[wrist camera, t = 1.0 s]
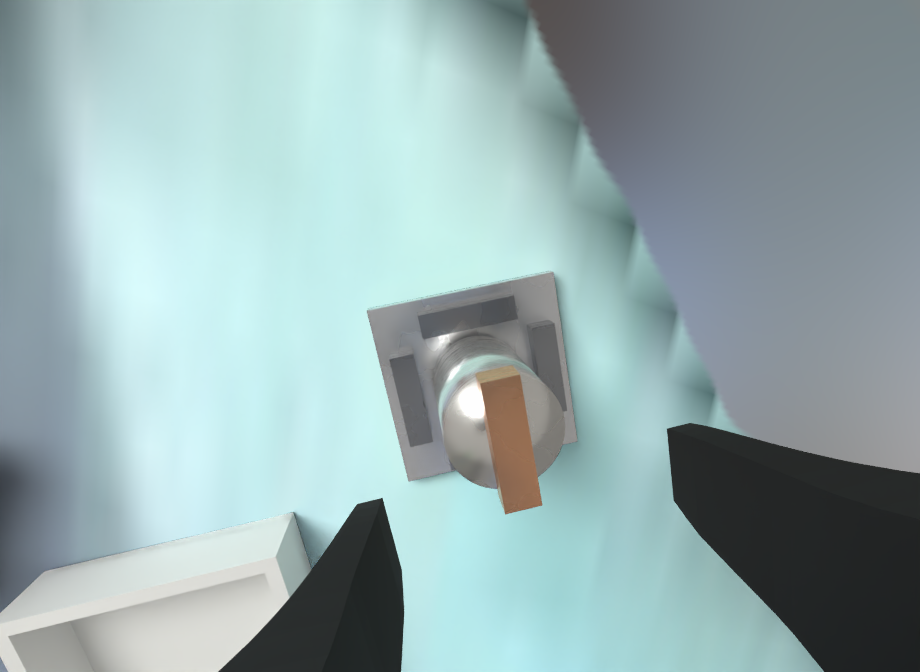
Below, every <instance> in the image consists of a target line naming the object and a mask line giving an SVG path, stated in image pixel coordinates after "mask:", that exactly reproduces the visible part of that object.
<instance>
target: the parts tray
mask: <svg viewBox="0 0 920 672" xmlns="http://www.w3.org/2000/svg"><path fill="white" fill-rule="evenodd" d="M311 570H312V569H311V566H310V563H309V560H308V557H307V554H306V550H305V547H304V544H303V541H302V538H301V535H300V532H299V528H298V525H297V522H296V519H295V516H294V513H293V512H291V513H287V514H283V515H279V516H275V517H270V518H266V519H262V520H258V521H254V522H249V523H245V524H241V525H237V526H233V527H228V528H224V529H220V530H216V531H212V532H207V533H203V534H199V535H195V536H191V537H187V538H182V539H178V540H174V541H170V542H166V543H161V544H157V545H153V546H149V547H145V548H140V549H136V550H132V551H128V552H124V553H119V554H115V555H111V556H107V557H103V558H98V559H94V560H90V561H86V562H82V563H77V564H73V565H69V566H65V567H61V568H56V569H52V570H48V571H44V572H43V573H42V574H41V575H40V576H39V577H38V578H37V579H36V580H35V581H34V582H33V583H32V584H31V585H29V586H28V587H27V588H26V589H25V590H24V591H23V592H22V593H21V594H20V595H19V596H18V597H17V598H16V599H15V600H14V601H12V602H11V603H10V604H9V605H8V606H7V607H6V608H5V609H4V610H3V611H2V612H1V613H0V657H1V659H2V661H3V663H4V664H5V666H6V668H7V670H8V672H218V671H219V670H220V669H221V668H222V667H223V666H225V665H226V664H227V663H228V662H229V661H230V660H231V659H232V658H233V657H234V656H235V655H236V654H237V653H238V652H239V651H240V650H241V649H242V648H244V647H245V646H246V645H247V644H248V643H249V642H250V641H251V640H252V639H253V638H254V637H255V636H256V635H257V634H258V632H259V631H260V630H261V629H262V628H263V627H264V626H265V625H266V624H267V623H268V622H269V621H270V620H271V619H272V617H273V616H274V615H275V614H276V613H277V612H278V611H279V610H280V608H281V607H282V606H283V605H284V604H285V603H286V602H287V600H288V599H289V598H290V597H291V596H292V594H293V593H294V592H295V591H296V589H297V588H298V587H299V585H300V584H301V583H302V582H303V580H304V579H305V578H306V576H307V575H308V574H309V573H310V571H311Z"/></svg>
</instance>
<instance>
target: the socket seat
mask: <svg viewBox="0 0 920 672" xmlns="http://www.w3.org/2000/svg"><path fill="white" fill-rule="evenodd" d="M367 314H368V318H369V322H370V326H371V330H372V334H373V338H374V342H375V346H376V350H377V354H378V358H379V363H380V367H381V371H382V375H383V379H384V383H385V387H386V391H387V395H388V399H389V403H390V407H391V412H392V416H393V420H394V424H395V428H396V432H397V436H398V440H399V444H400V448H401V452H402V456H403V460H404V465H405V469H406V473H407V477H408V481H412V480H417V479H421V478H425V477H429V476H434V475H438V474H442V473H446V472H450V471H455V470H456V469H455V468H454V466H453V465H452V463H451V462H450V460H449V457H448V455H447V453H446V449H445V445H444V440H443V435H442V429H441V424H440V419H439V414H438V408H437V403H436V398H435V393H434V387H433V376H434V371H435V367H436V365H437V362H438V360H439V359H440V357H441V356H442V354H443V353H444V352H445V351H446V350H447V349H448V348H449V347H450V346H451V345H453V344H454V343H456V342H457V341H459V340H462V339H464V338H467V337H471V336H489V337H493V338H496V339H499V340H501V341H502V342H504V343H506V344H507V345H508V346H509V347H510V348H511V349H512V350H513V351H514V352H515V353H516V354H517V355H518V356H519V357H520V358H521V359H522V360H523V361H524V362H525V363H526V365H527V366H528V367H529V368H530V369H531V370H532V371H533V372H534V373H535V374H536V375H537V376H538V377H539V378H540V380H541V381H542V382H543V383H544V384H545V385H546V386H547V387H548V388H549V389H550V390H551V391H552V392H553V394H554V395H555V396H556V398H557V399H558V401H559V403H560V405H561V407H562V410H563V413H564V418H565V436H564V441H563V444H562V445H564V444H568V443H572V442H577V434H576V427H575V420H574V413H573V406H572V399H571V392H570V385H569V378H568V371H567V364H566V357H565V350H564V343H563V336H562V329H561V322H560V315H559V308H558V301H557V294H556V287H555V280H554V273H553V272H552V271H546V272H541V273H536V274H531V275H526V276H522V277H517V278H512V279H507V280H502V281H498V282H493V283H488V284H483V285H478V286H474V287H469V288H464V289H459V290H455V291H450V292H445V293H440V294H435V295H431V296H426V297H421V298H416V299H411V300H407V301H402V302H397V303H392V304H388V305H383V306H378V307H373V308H368V310H367Z"/></svg>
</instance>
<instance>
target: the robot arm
mask: <svg viewBox="0 0 920 672" xmlns="http://www.w3.org/2000/svg"><path fill="white" fill-rule="evenodd" d="M667 434H668V444H669V455H670V465H671V476H672V486H673V497H674V501H675V503H676V504H677V505H678V507H679V508H680V510H681V511H682V512H683V514H684V515H685V517H686V518H687V519H688V521H689V522H690V523H691V525H692V526H693V527H694V528H695V530H696V531H697V532H698V534H699V535H700V536H701V537H702V538H703V539H704V540H705V541H706V542H707V544H708V545H709V546H710V547H711V548H712V549H713V550H714V551H715V552H716V553H717V554H718V555H719V556H720V557H721V558H722V559H723V560H724V561H725V562H726V563H727V564H728V565H729V566H730V568H731V569H732V570H733V571H734V572H735V573H736V574H737V575H738V576H739V577H740V578H741V579H742V580H743V581H744V582H745V583H746V584H747V585H748V586H749V587H750V588H751V589H752V590H753V591H754V592H755V593H756V594H757V595H758V596H759V597H760V598H761V599H762V600H763V601H764V603H765V604H766V605H767V606H768V607H769V608H770V609H771V610H772V611H773V612H774V613H775V614H776V615H777V616H778V617H779V618H780V619H781V620H782V622H783V623H784V624H785V625H786V626H787V627H788V628H789V629H790V630H791V632H792V633H793V634H794V635H795V636H796V637H797V639H798V640H799V641H800V642H801V644H802V645H803V646H804V647H805V649H806V650H807V651H808V652H809V653H810V655H811V656H812V657H813V658H814V660H815V661H816V662H817V663H818V664H819V666H820V667H821V668H822V669H823V671H824V672H920V473H912V472H906V471H899V470H892V469H887V468H881V467H875V466H870V465H863V464H858V463H852V462H848V461H843V460H838V459H833V458H829V457H825V456H820V455H816V454H812V453H807V452H803V451H799V450H795V449H791V448H787V447H783V446H779V445H776V444H771V443H768V442H764V441H761V440H757V439H753V438H750V437H746V436H742V435H739V434H735V433H731V432H728V431H724V430H720V429H716V428H712V427H708V426H703V425H698V424H692V423H689V424H685V425H680V426H676V427H672V428H668V429H667ZM403 625H404V600H403V583H402V569H401V566H400V562H399V558H398V555H397V551H396V547H395V543H394V540H393V536H392V532H391V529H390V525H389V521H388V517H387V514H386V510H385V506H384V502H383V499H382V498H381V499H377V500H372V501H368V502H364V503H360V504H357V505H356V507H355V508H354V509H353V511H352V512H351V514H350V515H349V517H348V518H347V520H346V521H345V523H344V524H343V526H342V527H341V529H340V530H339V532H338V533H337V535H336V536H335V538H334V539H333V541H332V542H331V544H330V545H329V546H328V548H327V549H326V551H325V552H324V554H323V555H322V556H321V558H320V559H319V561H318V562H317V564H316V565H315V566H314V567H313V569H312V570H311V571H310V573H309V574H308V575H307V576H306V578H305V579H304V580H303V582H302V583H301V584H300V585H299V587H298V588H297V589H296V591H295V592H294V593H293V594H292V596H291V597H290V598H289V599H288V600H287V602H286V603H285V604H284V605H283V606H282V607H281V608H280V610H279V611H278V612H277V613H276V614H275V615H274V616H273V617H272V619H271V620H270V621H269V622H268V623H267V624H266V625H265V626H264V627H263V628H262V629H261V630H260V631H259V632H258V634H257V635H256V636H255V637H254V638H253V639H252V640H251V641H250V642H249V643H248V644H247V645H246V646H245V647H244V648H242V649H241V650H240V651H239V652H238V653H237V654H236V655H235V656H234V657H233V658H232V659H231V660H230V661H229V662H228V663H227V664H226V665H225V666H223V667H222V668H221V669H220V670H219V671H218V672H401V661H402V644H403Z"/></svg>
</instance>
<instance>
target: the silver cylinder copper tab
mask: <svg viewBox="0 0 920 672" xmlns="http://www.w3.org/2000/svg"><path fill="white" fill-rule="evenodd" d="M433 387H434V393H435V398H436V403H437V408H438V414H439V419H440V424H441V429H442V435H443V440H444V445H445V449H446V453H447V455H448V457H449V460H450V462H451V463H452V465H453V466H454V468H455V469H456V470H457V471H458V472H459V473H460V474H461V475H462V476H463V477H465V478H466V479H468V480H469V481H471V482H473V483H475V484H477V485H480V486H483V487H487V488H493V489H498V495H499V498H500V501H501V504H502V507H503V509H504V512H505V514H509V513H513V512H517V511H521V510H525V509H529V508H533V507H537V506H541V505H542V501H541V495H540V489H539V483H538V476H540V475H541V474H542V473H544V472H545V471H546V470H547V469H548V468H549V467H550V465H551V464H552V463H553V462H554V460H555V459H556V457H557V456H558V454H559V452H560V450H561V447H562V444H563V441H564V436H565V418H564V413H563V410H562V407H561V405H560V403H559V401H558V399H557V398H556V396H555V395H554V394H553V392H552V391H551V390H550V389H549V388H548V387H547V386H546V385H545V384H544V383H543V382H542V381H541V380H540V378H539V377H538V376H537V375H536V374H535V373H534V372H533V371H532V370H531V369H530V368H529V367H528V366H527V365H526V363H525V362H524V361H523V360H522V359H521V358H520V357H519V356H518V355H517V354H516V353H515V352H514V351H513V350H512V349H511V348H510V347H509V346H508V345H507V344H506V343H504V342H502V341H501V340H499V339H496V338H493V337H489V336H471V337H467V338H464V339H462V340H459V341H457V342H456V343H454V344H453V345H451V346H450V347H449V348H448V349H447V350H446V351H445V352H444V353H443V354H442V356H441V357H440V359H439V360H438V362H437V365H436V367H435V371H434V376H433Z"/></svg>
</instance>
